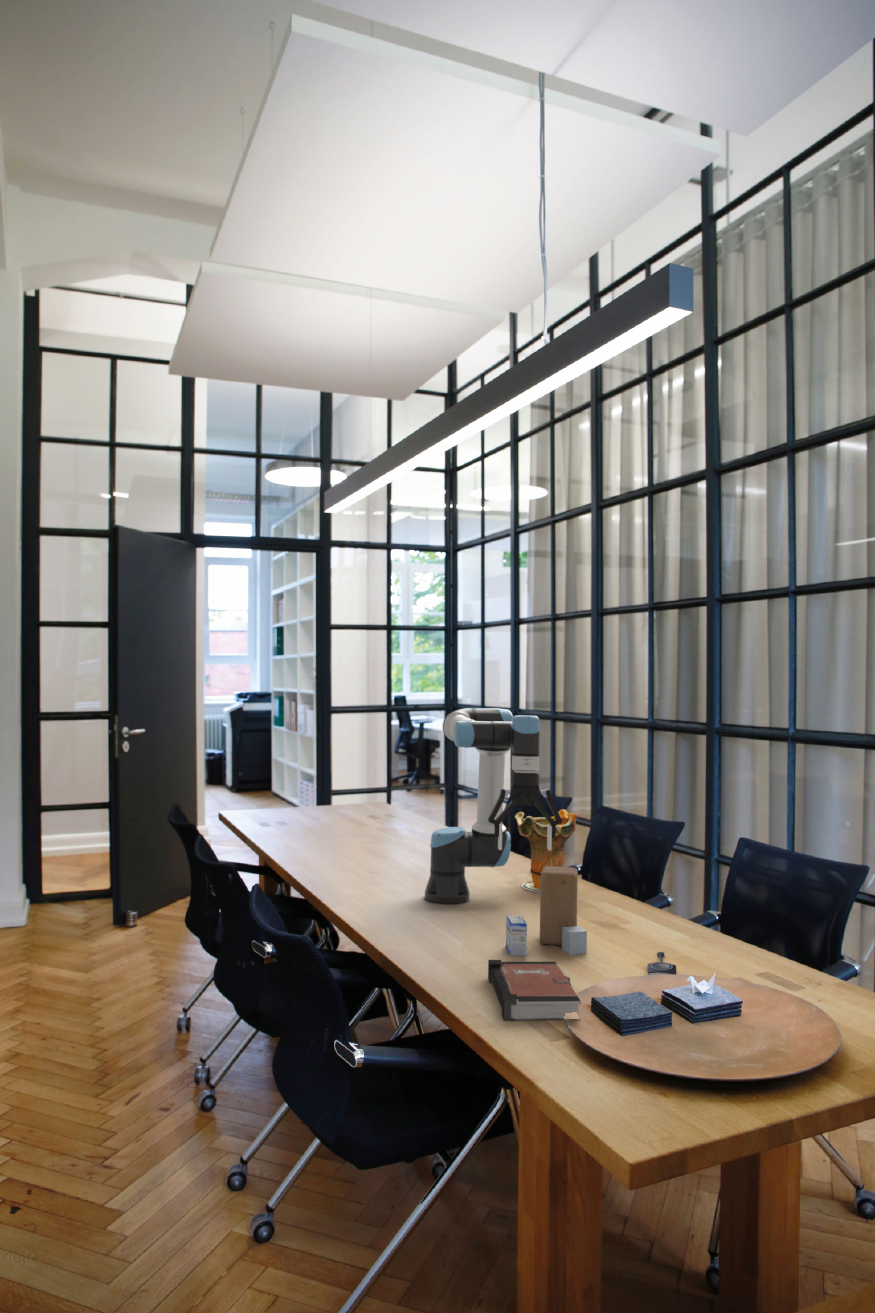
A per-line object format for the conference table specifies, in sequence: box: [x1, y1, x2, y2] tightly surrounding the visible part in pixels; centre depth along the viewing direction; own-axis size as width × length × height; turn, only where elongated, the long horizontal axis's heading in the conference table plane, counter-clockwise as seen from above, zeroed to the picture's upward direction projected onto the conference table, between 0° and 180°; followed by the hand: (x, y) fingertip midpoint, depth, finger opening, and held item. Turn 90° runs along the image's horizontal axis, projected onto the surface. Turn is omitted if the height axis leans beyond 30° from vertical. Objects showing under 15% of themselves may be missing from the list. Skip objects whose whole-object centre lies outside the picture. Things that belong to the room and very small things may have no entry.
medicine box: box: [505, 915, 528, 957], centre depth 230 cm, size 8×4×9 cm, turn 5°
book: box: [487, 959, 582, 1022], centre depth 196 cm, size 26×18×5 cm
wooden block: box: [539, 866, 579, 946], centre depth 240 cm, size 10×10×20 cm
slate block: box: [561, 925, 588, 955], centre depth 231 cm, size 5×5×6 cm
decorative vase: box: [514, 808, 579, 893], centre depth 303 cm, size 21×23×28 cm
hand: (524, 849), depth 232 cm, fingers open, 13 cm apart
